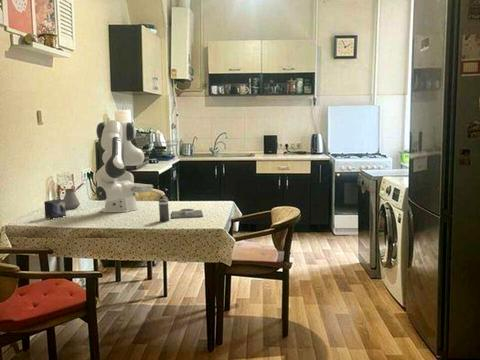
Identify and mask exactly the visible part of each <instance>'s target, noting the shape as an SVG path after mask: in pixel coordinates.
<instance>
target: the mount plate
mask: <svg viewBox="0 0 480 360" xmlns="http://www.w3.org/2000/svg"><path fill="white" fill-rule="evenodd" d="M203 217H204V215H203V211H202V209H197V210H195V209H194V208H181V209H179V210H175V211H174V210H173V211H171V220H172V219H173V218H174V219H191V218H203Z"/></svg>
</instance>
